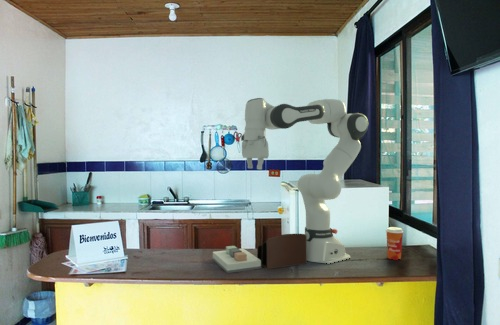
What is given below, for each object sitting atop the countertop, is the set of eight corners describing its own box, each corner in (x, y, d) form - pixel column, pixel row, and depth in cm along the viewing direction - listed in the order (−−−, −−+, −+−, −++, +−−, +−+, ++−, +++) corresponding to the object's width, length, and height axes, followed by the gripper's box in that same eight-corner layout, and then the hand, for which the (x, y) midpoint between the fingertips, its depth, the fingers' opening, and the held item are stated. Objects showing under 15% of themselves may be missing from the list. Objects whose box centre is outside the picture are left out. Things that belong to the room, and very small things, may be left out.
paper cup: (382, 258, 166) (382, 228, 165) (390, 254, 171) (390, 226, 170) (398, 262, 160) (399, 231, 159) (406, 258, 165) (406, 228, 164)
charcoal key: (238, 255, 159) (238, 248, 159) (241, 257, 155) (241, 250, 155) (230, 256, 157) (230, 249, 157) (233, 258, 154) (233, 251, 154)
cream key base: (243, 255, 168) (243, 248, 168) (260, 268, 150) (260, 260, 150) (212, 259, 163) (212, 251, 162) (227, 273, 144) (227, 264, 144)
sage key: (234, 252, 164) (234, 245, 164) (237, 254, 160) (237, 247, 160) (225, 253, 162) (225, 246, 162) (228, 255, 159) (228, 248, 159)
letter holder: (306, 264, 157) (307, 232, 156) (267, 270, 149) (267, 236, 148) (295, 257, 166) (295, 227, 166) (256, 263, 158) (256, 231, 157)
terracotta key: (243, 258, 154) (243, 251, 154) (246, 261, 150) (246, 254, 150) (234, 259, 152) (234, 252, 152) (237, 262, 149) (237, 255, 148)
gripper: (272, 135, 143) (272, 170, 143) (252, 137, 161) (252, 167, 162) (258, 135, 140) (258, 170, 140) (239, 137, 159) (239, 167, 159)
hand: (254, 168), depth 151 cm, fingers open, 8 cm apart
